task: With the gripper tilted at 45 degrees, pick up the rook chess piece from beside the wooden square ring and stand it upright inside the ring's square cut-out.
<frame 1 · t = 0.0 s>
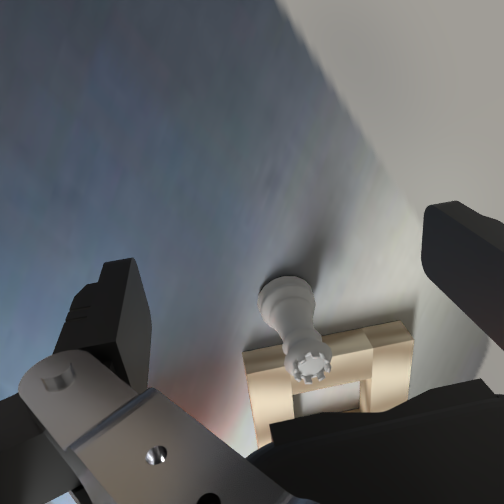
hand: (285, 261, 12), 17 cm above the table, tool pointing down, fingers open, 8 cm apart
rook chess piece: (283, 294, 35), on the table
wooden square ring: (324, 391, 41), on the table
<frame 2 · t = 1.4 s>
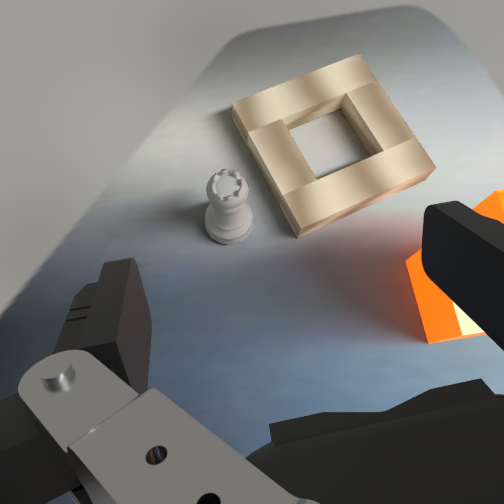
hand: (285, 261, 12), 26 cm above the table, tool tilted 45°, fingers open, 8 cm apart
orange juice: (462, 294, 39), on the table
rook chess piece: (229, 224, 40), on the table
wooden square ring: (327, 148, 43), on the table
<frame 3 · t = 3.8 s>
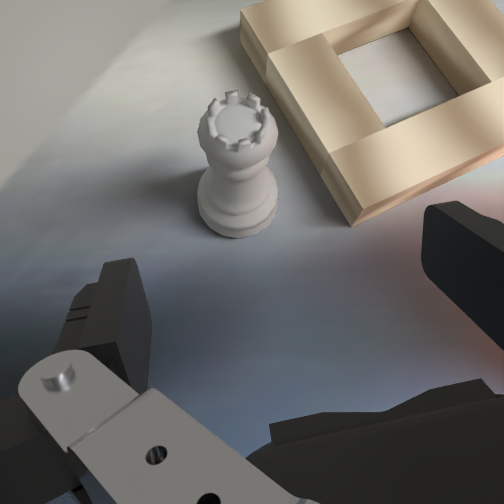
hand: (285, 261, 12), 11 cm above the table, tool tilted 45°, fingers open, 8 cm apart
rook chess piece: (237, 205, 25), on the table
wooden square ring: (390, 86, 27), on the table
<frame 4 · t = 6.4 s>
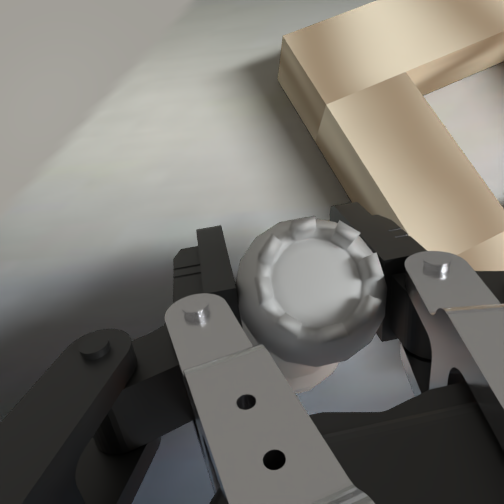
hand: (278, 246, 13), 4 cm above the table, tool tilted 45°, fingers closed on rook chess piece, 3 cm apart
rook chess piece: (280, 332, 16), on the table, touching gripper
wooden square ring: (496, 145, 19), on the table
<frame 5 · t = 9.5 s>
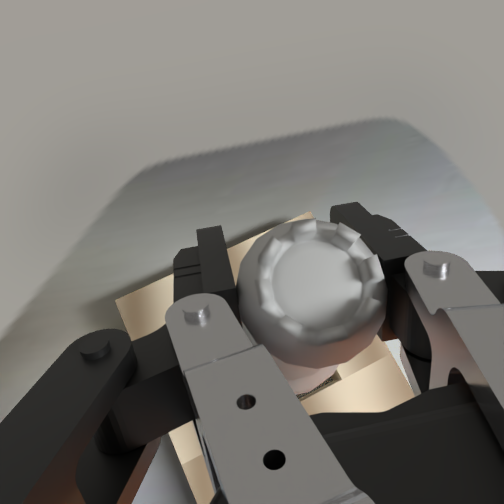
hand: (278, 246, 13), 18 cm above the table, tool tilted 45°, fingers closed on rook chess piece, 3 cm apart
rook chess piece: (280, 333, 16), point 13 cm above the table, touching gripper
wooden square ring: (262, 355, 29), on the table
when the fingers open (5 cm above the table, at t = 12.6 s): rook chess piece drops 1 cm, resting in wooden square ring.
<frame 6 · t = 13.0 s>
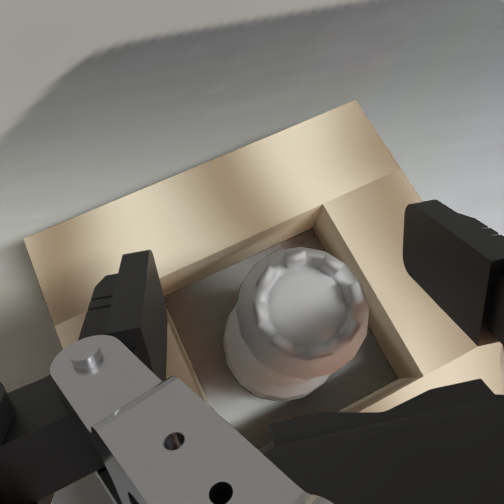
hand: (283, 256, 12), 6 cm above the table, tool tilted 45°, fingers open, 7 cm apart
rook chess piece: (278, 343, 18), resting in wooden square ring
wooden square ring: (277, 337, 17), on the table
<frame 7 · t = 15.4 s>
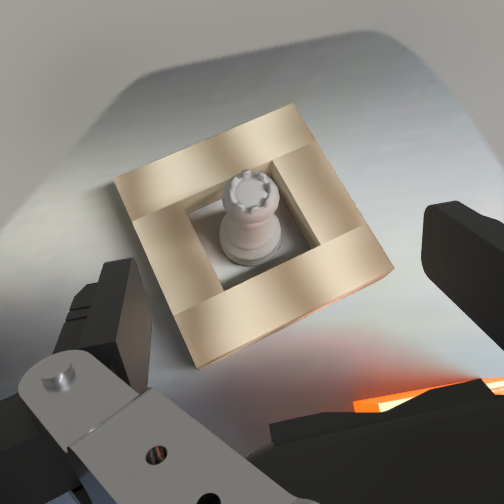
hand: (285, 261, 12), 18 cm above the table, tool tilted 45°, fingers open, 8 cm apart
orange juice: (433, 452, 27), on the table
rook chess piece: (250, 239, 32), resting in wooden square ring
wooden square ring: (249, 235, 31), on the table
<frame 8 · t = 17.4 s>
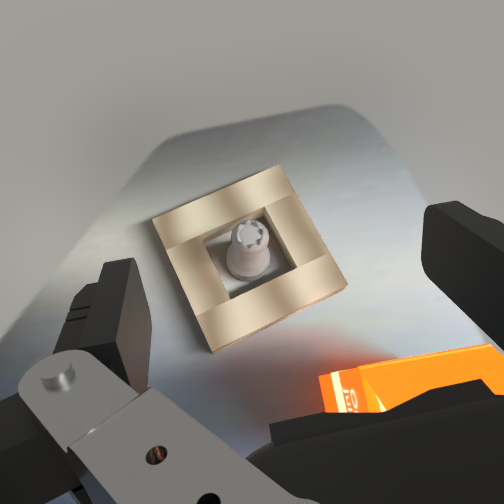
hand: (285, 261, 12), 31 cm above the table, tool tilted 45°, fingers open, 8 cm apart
orange juice: (372, 410, 40), on the table
rook chess piece: (248, 261, 44), resting in wooden square ring
wooden square ring: (247, 258, 44), on the table
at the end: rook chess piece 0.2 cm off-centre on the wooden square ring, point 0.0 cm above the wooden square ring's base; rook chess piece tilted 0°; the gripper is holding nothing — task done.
